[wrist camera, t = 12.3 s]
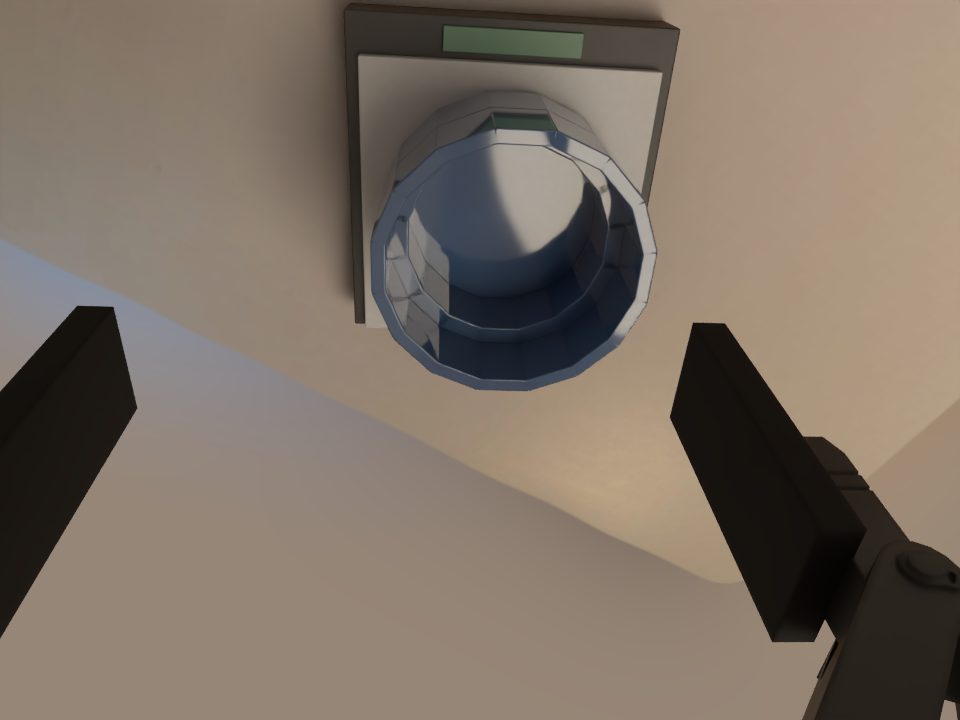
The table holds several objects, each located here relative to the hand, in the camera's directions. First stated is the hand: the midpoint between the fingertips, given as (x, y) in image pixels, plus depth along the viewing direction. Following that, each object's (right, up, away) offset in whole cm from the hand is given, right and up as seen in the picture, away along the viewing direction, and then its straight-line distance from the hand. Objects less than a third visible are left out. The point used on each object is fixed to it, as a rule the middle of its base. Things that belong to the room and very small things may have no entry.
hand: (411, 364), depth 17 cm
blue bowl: (+3, +7, +18) cm, 19 cm away
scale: (+3, +9, +20) cm, 22 cm away
